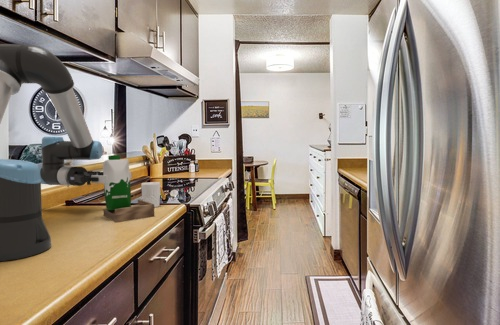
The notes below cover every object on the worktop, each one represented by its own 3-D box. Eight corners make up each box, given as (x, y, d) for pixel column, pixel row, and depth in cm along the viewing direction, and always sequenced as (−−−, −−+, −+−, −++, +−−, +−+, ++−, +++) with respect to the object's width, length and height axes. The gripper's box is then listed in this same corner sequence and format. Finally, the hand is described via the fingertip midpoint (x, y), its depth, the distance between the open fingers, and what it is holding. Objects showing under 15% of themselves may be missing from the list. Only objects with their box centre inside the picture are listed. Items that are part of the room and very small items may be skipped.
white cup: (155, 208, 135) (154, 184, 135) (138, 207, 137) (137, 184, 136) (164, 204, 143) (163, 182, 142) (147, 204, 144) (147, 182, 144)
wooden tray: (115, 222, 112) (115, 209, 112) (103, 215, 122) (103, 203, 122) (154, 216, 121) (154, 204, 121) (140, 210, 131) (139, 199, 131)
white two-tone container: (128, 207, 125) (124, 156, 126) (134, 207, 117) (130, 153, 119) (103, 210, 120) (100, 157, 122) (108, 210, 113) (104, 153, 114)
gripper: (96, 181, 140) (139, 183, 134) (46, 190, 116) (96, 192, 110) (96, 164, 140) (139, 165, 134) (45, 169, 116) (95, 170, 110)
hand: (119, 177), depth 122 cm, fingers open, 13 cm apart
